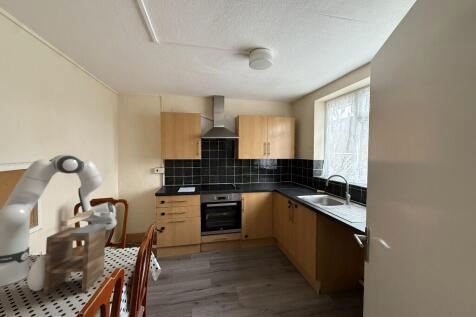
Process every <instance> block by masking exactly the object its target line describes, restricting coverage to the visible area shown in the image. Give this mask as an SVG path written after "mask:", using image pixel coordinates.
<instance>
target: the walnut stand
mask: <svg viewBox="0 0 476 317" xmlns="http://www.w3.org/2000/svg"><path fill="white" fill-rule="evenodd" d="M82 227H83V226H81V227H80V226H78V227H77V226H74V227H68V228H66V229H63V230H60V231H58V232H56V233H54V234H51V235H49V236H47V237H46V244H45V274H44V288H43V292H42V293H43V294H42V295H43V296H47V295H49V294H51V293H52V292H53V291H54V290H55V289H57V288H58V287H59V286H61V285H62V284H63V283H65V282H66V281H67V280H68V279H70V278H71V277H72V273H79V272H81V273H82V277H81V280H82V281H81V293H87V292H88V291H89V290H90V287H91V286H92V285H93V284H94V283H95V282H96V281H97V282H98V281H99V280H100V279H101V278H102V275H103V276H104V271H105V270H104V268H105V267H104V266H105V250H106V247H105V246H106V231H107V230H106V227H103V228H102V229H100V230H98V231H96V232H95V233H93V234H91V235H89V236H70V233H72V232H74V231H76V230H78V229H80V228H82ZM78 241H79V242H80V241H81V242H83V245H84V256H72V250H73V248H74V247H73V245H74V242H78ZM99 278H100V279H99ZM97 282H96V283H97ZM96 283H95V284H96ZM95 284H94V285H95ZM94 285H93V286H94ZM93 286H92V287H93ZM92 287H91V288H92Z"/></svg>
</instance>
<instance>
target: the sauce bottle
mask: <svg viewBox="0 0 476 317" xmlns="http://www.w3.org/2000/svg"><path fill="white" fill-rule="evenodd" d="M45 258H46V255H43V253H42V251H40V256H38V257H37V258H36V260H35V261H34V262H33V263H32V265H31V267H30V271H29V273H28V276H27V277H26V278H27V279H26V285H27V287H28V289H29V290H31V291H34V292H39V291H41V290H42V289H43V290H44V274H45Z"/></svg>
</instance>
